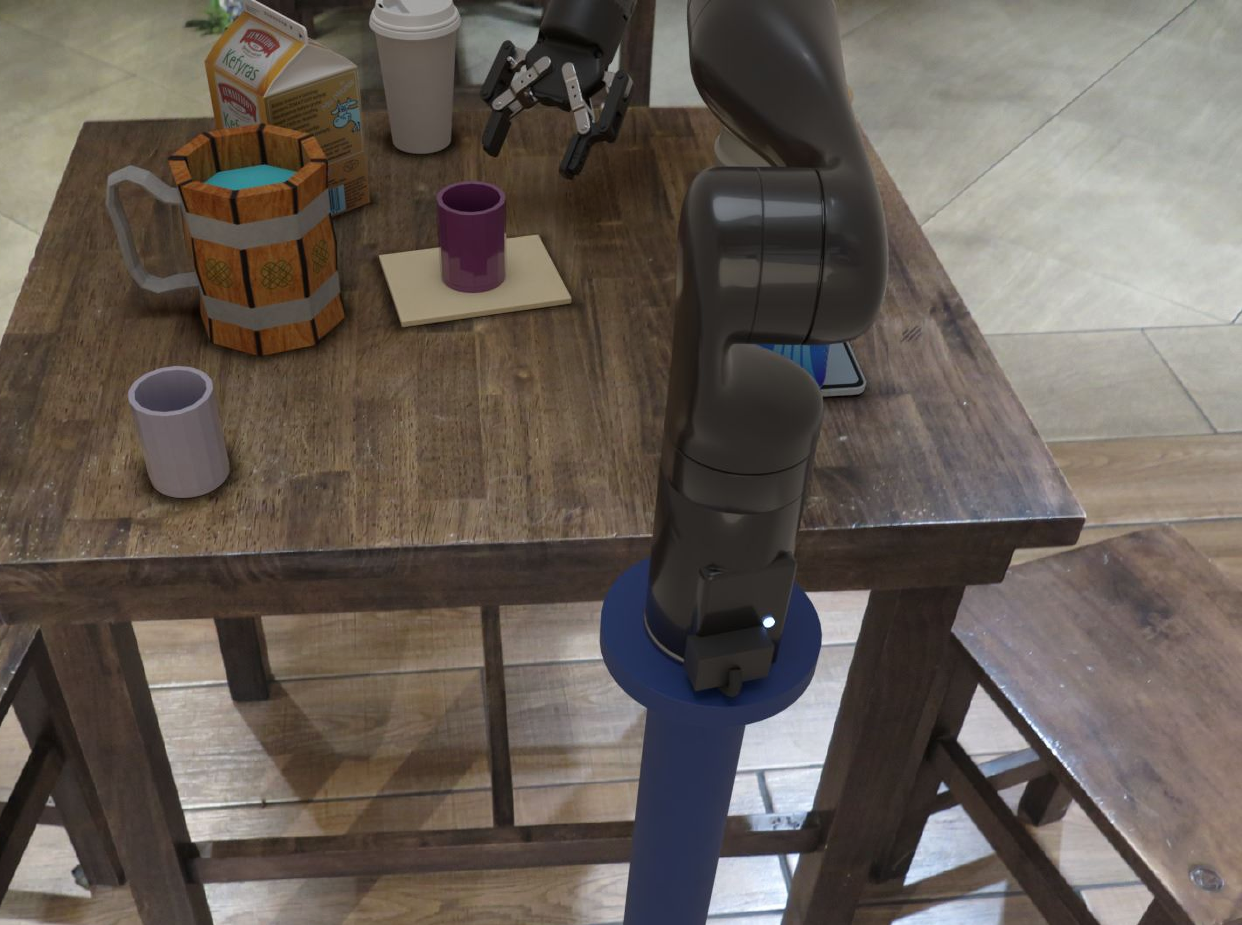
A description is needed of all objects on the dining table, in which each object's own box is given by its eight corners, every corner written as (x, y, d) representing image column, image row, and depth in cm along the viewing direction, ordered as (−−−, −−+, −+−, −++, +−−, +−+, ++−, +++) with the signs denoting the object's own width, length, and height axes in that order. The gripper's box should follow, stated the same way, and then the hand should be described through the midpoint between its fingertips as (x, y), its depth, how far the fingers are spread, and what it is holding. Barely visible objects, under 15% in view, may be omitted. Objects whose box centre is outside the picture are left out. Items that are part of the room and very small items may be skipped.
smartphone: (783, 392, 106) (746, 292, 116) (781, 401, 107) (745, 301, 117) (869, 387, 107) (825, 288, 117) (867, 397, 107) (823, 297, 118)
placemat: (571, 303, 117) (571, 298, 117) (401, 327, 114) (401, 322, 114) (538, 239, 125) (538, 234, 125) (379, 260, 123) (378, 255, 122)
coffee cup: (383, 121, 144) (373, -17, 134) (467, 122, 144) (463, -16, 133) (374, 160, 137) (362, 18, 127) (462, 161, 137) (457, 19, 127)
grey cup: (233, 491, 98) (215, 408, 93) (152, 504, 97) (129, 421, 92) (226, 442, 103) (209, 360, 97) (148, 454, 102) (126, 372, 96)
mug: (355, 276, 121) (339, 124, 110) (335, 358, 111) (316, 200, 100) (151, 272, 121) (116, 120, 111) (114, 353, 112) (71, 196, 101)
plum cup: (513, 288, 118) (512, 209, 112) (448, 297, 117) (444, 218, 111) (497, 255, 122) (496, 177, 117) (434, 263, 121) (430, 185, 116)
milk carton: (228, 197, 132) (195, 9, 118) (312, 166, 136) (290, -18, 123) (283, 236, 126) (255, 43, 112) (370, 202, 131) (352, 13, 117)
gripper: (514, -34, 118) (448, 130, 119) (648, -4, 112) (577, 168, 113) (543, 7, 125) (481, 162, 126) (671, 37, 119) (604, 199, 120)
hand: (526, 165), depth 119 cm, fingers open, 8 cm apart
